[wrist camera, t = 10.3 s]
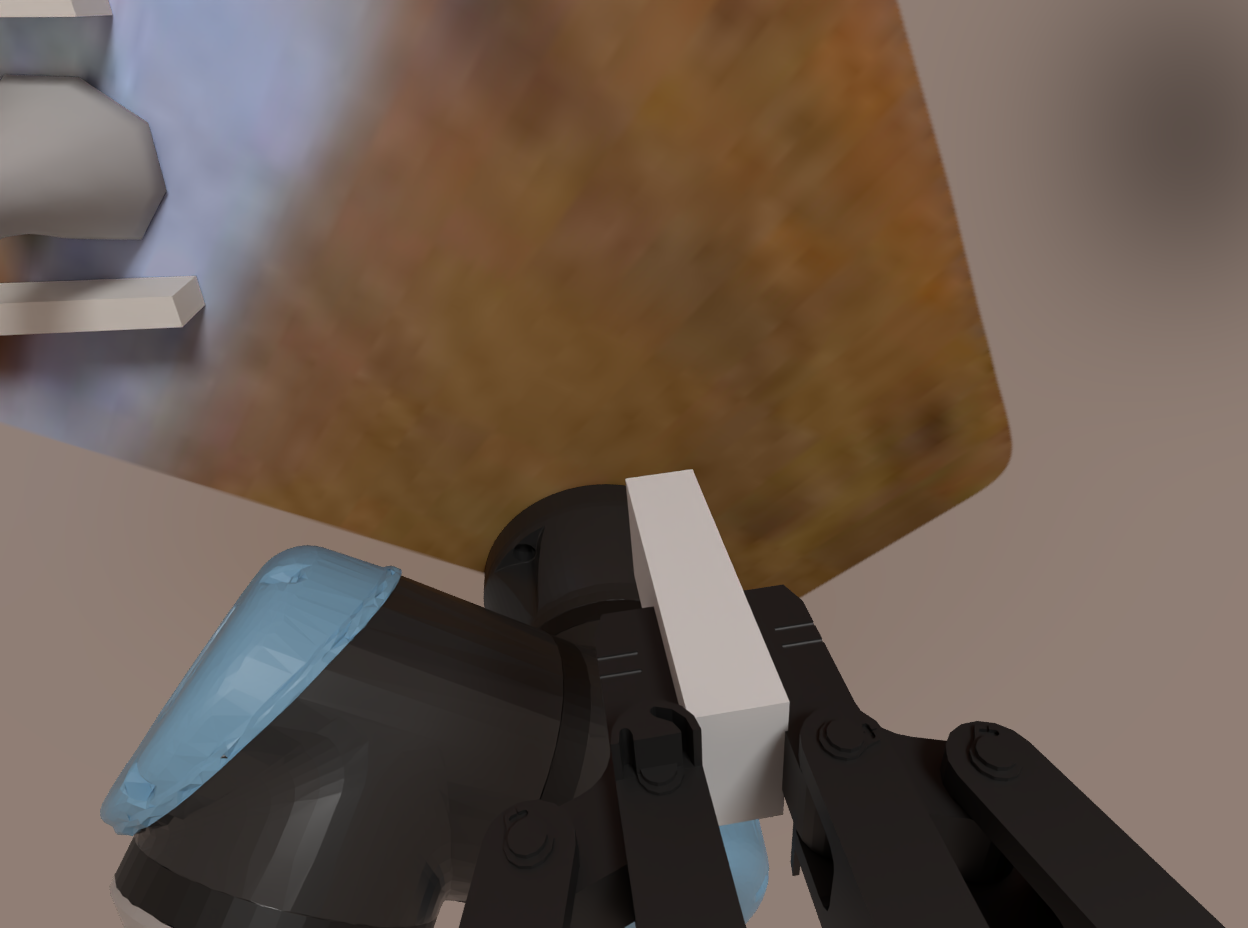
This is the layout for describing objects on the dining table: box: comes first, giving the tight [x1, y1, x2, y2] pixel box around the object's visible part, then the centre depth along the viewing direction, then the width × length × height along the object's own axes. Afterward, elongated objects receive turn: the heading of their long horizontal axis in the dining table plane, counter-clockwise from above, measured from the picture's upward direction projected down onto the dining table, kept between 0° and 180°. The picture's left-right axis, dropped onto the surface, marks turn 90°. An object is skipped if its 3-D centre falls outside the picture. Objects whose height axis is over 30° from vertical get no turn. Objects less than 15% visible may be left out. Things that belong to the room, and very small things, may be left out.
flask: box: [0, 74, 166, 240], centre depth 29 cm, size 7×7×10 cm
